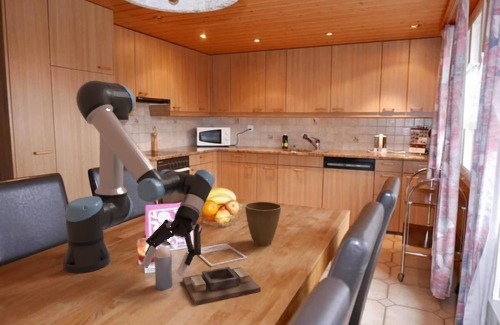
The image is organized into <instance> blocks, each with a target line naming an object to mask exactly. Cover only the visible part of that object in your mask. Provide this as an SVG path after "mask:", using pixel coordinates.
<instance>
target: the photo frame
mask: <svg viewBox="0 0 500 325" xmlns="http://www.w3.org/2000/svg"><path fill="white" fill-rule="evenodd" d="M229 249H230V250H232V251H233V252H235V253H236V254H238V255H239V256H241V257H239V258H235V259H231V260H226V261H222V262H217V263H211V262H210V261H208V259H206V258H205V257H204V256H203V255H204V254H210V253H214V252H220V251H225V250H229ZM197 256H198V257H200V259H201V260H203V261H204V262H205V263H206V264H207V265H208V266H209V267H211V268H213V267H217V266H222V265H226V264H230V263H235V262H240V261H244V260H248V256H246V255H244V254H243V253H241V252H240V251H239V250H237V249H235V248H234V247H232V246H231V245H229V244H228V243H226V242H225V243H220V244H214V245H208V246H202V247H201V255H197Z"/></svg>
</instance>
